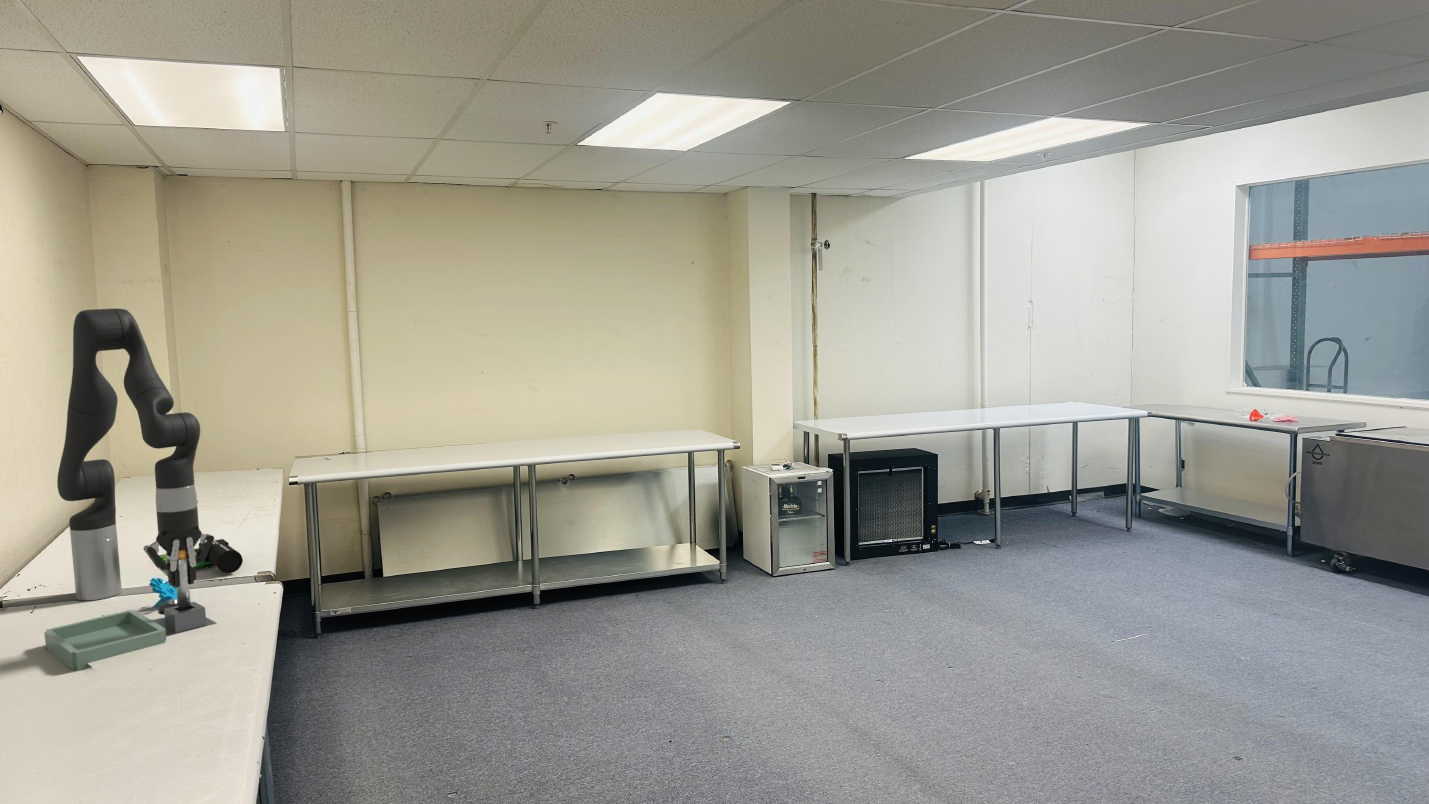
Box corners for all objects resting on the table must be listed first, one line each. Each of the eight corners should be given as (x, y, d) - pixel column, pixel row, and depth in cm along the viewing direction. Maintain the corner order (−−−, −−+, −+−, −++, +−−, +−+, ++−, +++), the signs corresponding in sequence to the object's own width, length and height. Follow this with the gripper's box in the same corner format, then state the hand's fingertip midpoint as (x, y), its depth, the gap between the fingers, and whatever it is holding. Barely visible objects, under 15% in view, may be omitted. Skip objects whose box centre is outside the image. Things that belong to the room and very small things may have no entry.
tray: (44, 646, 183) (42, 630, 183) (134, 624, 196) (133, 609, 196) (74, 671, 170) (72, 654, 170) (168, 646, 183) (167, 629, 182)
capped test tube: (175, 605, 191) (171, 549, 190) (188, 602, 193) (184, 546, 192) (180, 608, 190) (176, 551, 188) (192, 605, 192) (188, 548, 190)
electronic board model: (157, 537, 246) (217, 527, 256) (159, 561, 247) (219, 550, 257) (181, 558, 224) (246, 547, 234) (184, 584, 225) (248, 572, 235)
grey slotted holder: (144, 627, 194) (142, 602, 194) (194, 614, 202) (192, 591, 201) (166, 640, 186) (164, 615, 185) (217, 627, 193) (215, 603, 193)
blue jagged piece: (182, 607, 202) (147, 578, 201) (162, 627, 201) (126, 599, 200) (198, 598, 213) (165, 571, 211) (180, 617, 212) (146, 590, 210)
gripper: (205, 498, 197) (210, 574, 199) (133, 509, 186) (140, 589, 188) (218, 503, 192) (224, 580, 194) (146, 515, 181) (152, 597, 183)
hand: (182, 584), depth 191 cm, fingers closed on capped test tube, 2 cm apart
